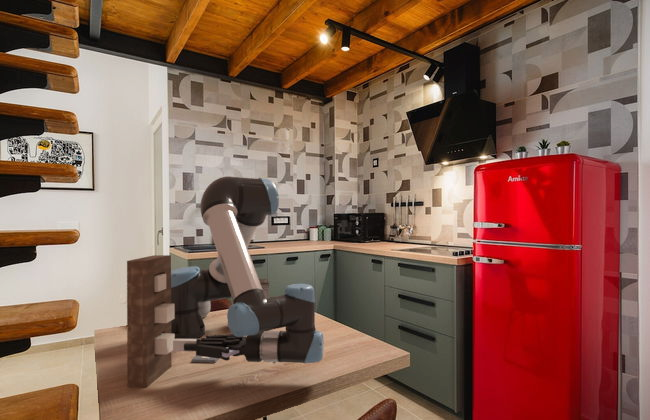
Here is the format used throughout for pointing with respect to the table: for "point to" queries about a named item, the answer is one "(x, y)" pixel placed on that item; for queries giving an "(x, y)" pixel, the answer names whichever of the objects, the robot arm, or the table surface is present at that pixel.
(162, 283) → the top key
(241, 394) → the table surface
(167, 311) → the middle key
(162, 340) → the bottom key
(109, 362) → the table surface
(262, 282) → the coffee box
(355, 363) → the table surface
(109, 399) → the table surface
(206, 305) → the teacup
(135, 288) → the switch panel
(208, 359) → the pattern card
